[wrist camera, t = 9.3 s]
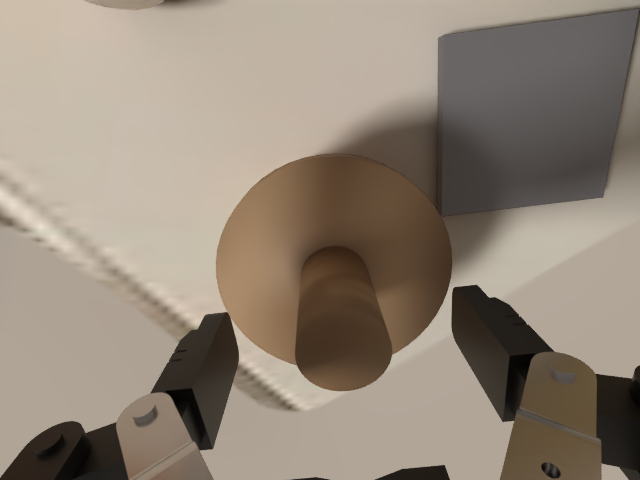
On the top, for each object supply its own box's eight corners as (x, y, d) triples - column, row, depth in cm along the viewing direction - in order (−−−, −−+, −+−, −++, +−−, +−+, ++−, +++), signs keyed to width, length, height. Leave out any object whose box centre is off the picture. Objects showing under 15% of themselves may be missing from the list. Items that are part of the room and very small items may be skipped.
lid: (444, 139, 14) (533, 163, 8) (441, 342, 18) (501, 453, 12) (198, 169, 15) (122, 213, 9) (246, 363, 18) (216, 482, 13)
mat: (624, 12, 17) (639, 8, 16) (592, 193, 20) (603, 197, 19) (438, 38, 17) (444, 34, 16) (437, 212, 20) (441, 216, 19)
